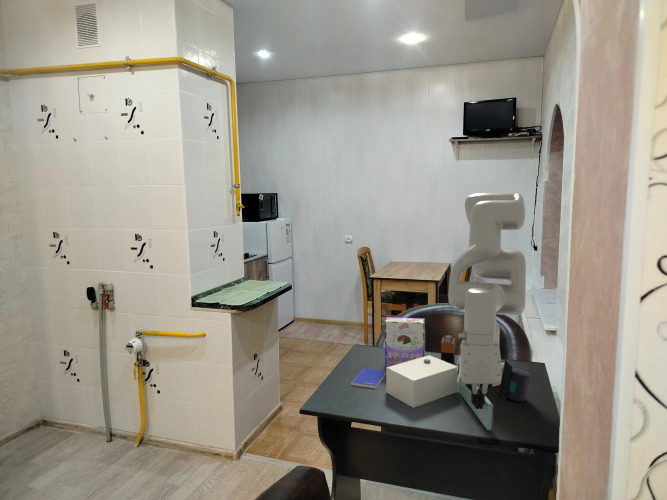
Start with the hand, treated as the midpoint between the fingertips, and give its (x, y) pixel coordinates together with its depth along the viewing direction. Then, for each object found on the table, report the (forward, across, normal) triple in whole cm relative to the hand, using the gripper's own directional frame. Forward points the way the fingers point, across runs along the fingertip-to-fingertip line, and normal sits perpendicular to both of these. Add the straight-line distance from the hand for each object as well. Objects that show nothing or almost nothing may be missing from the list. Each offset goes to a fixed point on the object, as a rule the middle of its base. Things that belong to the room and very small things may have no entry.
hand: (477, 406), depth 116 cm
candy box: (+6, -12, +44) cm, 46 cm away
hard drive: (+6, -26, +31) cm, 41 cm away
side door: (+5, +2, +10) cm, 11 cm away
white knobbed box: (+6, -10, +21) cm, 24 cm away
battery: (+6, +3, +43) cm, 44 cm away
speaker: (+6, +16, +17) cm, 24 cm away
